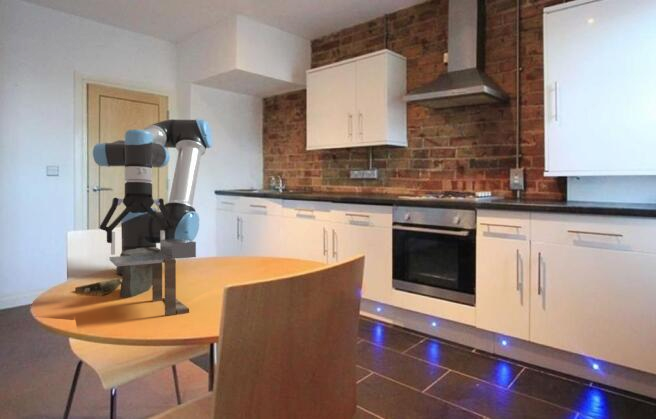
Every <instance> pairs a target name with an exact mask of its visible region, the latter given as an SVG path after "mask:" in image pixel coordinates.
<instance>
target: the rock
mask: <svg viewBox="0 0 656 419" xmlns="http://www.w3.org/2000/svg"><path fill="white" fill-rule="evenodd" d="M121 282H122V280H121V279H120V278H117V277H116V278H112V279H109V280H103V281H102V280H101V281H99V282H95V283H93V282H92V283H89V284H85V285H80V286H76V287H75V290H74V292H75V293H80V294H86V295H91V296H98V297H99V296H102V297H103V296H104V295H107V294H109V293H111V292H112V291H113V290H115V289H117V288H118V287H119V286H121Z"/></svg>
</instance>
